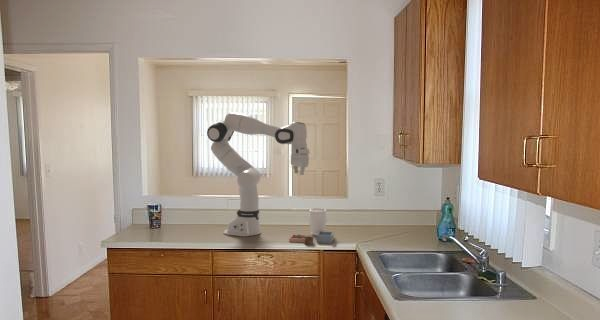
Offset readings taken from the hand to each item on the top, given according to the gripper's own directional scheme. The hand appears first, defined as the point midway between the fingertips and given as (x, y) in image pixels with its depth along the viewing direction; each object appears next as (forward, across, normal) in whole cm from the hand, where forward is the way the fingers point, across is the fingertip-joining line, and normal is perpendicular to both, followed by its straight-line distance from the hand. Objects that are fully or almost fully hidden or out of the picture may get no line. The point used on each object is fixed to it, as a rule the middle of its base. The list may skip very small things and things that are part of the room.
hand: (299, 174), depth 243 cm
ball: (+37, +7, -3) cm, 37 cm away
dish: (+37, +7, -3) cm, 38 cm away
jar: (+38, -4, +14) cm, 40 cm away
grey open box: (+37, +14, +11) cm, 41 cm away
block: (+38, +16, 0) cm, 41 cm away
